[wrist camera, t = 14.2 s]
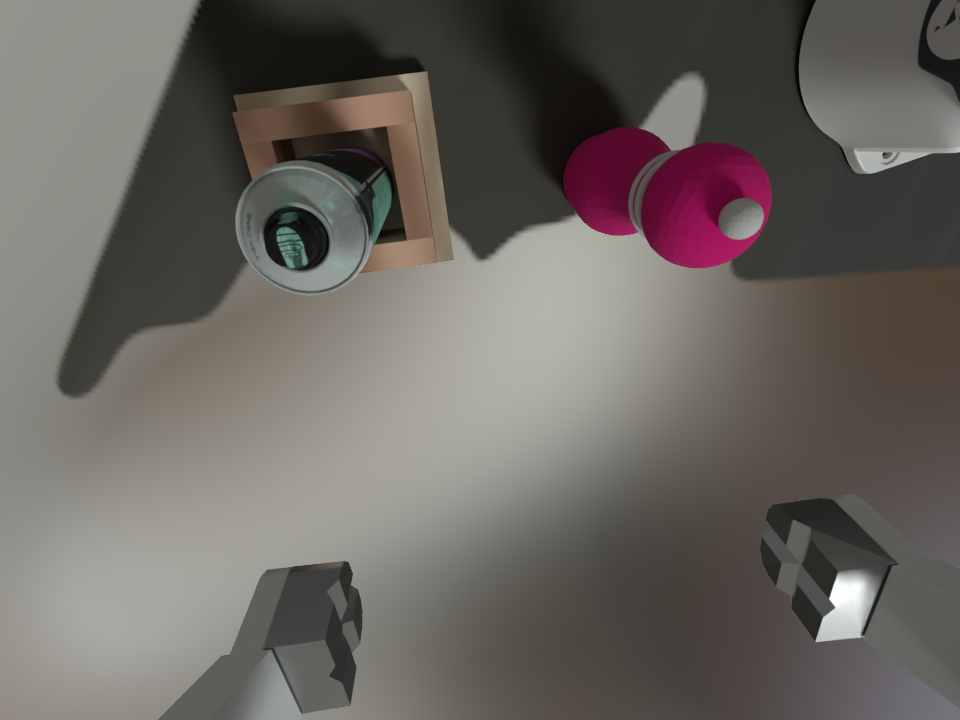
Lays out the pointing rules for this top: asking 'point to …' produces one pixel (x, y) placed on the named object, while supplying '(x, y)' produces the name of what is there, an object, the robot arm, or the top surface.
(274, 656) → the robot arm
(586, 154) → the pepper mill
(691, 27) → the top surface
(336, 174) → the spray can
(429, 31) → the top surface
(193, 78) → the top surface
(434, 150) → the can holder
